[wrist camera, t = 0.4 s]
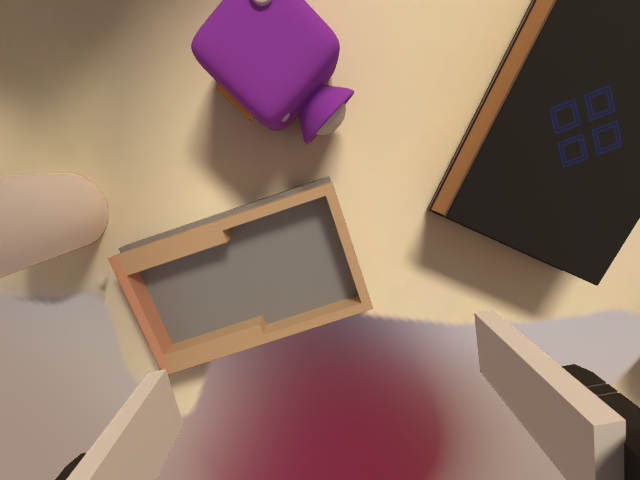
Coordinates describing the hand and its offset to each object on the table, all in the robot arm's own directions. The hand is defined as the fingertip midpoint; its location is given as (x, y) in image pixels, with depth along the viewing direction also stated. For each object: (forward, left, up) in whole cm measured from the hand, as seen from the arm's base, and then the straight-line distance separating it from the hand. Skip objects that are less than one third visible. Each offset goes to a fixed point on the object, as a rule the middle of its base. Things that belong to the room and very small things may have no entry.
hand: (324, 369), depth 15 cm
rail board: (+1, -9, -27) cm, 28 cm away
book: (-3, +27, -27) cm, 39 cm away
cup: (-12, -25, -27) cm, 38 cm away
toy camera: (-17, +2, -27) cm, 32 cm away
